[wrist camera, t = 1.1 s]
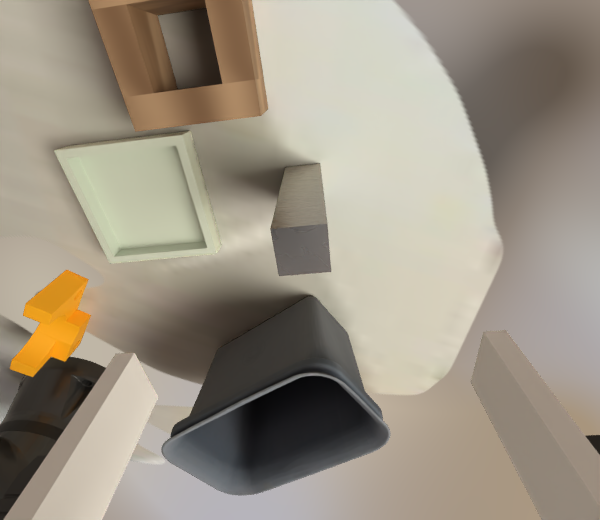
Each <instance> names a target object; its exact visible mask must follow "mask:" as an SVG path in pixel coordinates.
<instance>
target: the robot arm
mask: <svg viewBox="0 0 600 520" xmlns="http://www.w3.org/2000/svg"><path fill="white" fill-rule="evenodd" d="M471 384H472V386H473V388H474V389H475V391H476V393H477V395H478V397H479V399H480V401H481V403H482V405H483V407H484V409H485V411H486V413H487V415H488V416H489V419H490V421H491V422H492V424H493V426H494V428H495V430H496V432H497V434H498V436H499V438H500V440H501V442H502V443H503V446H504V448H505V449H506V452H507V453H508V455H509V457H510V459H511V461H512V463H513V465H514V467H515V469H516V471H517V473H518V475H519V477H520V479H521V481H522V482H523V484H524V486H525V488H526V490H527V492H528V494H529V496H530V498H531V500H532V502H533V504H534V506H535V507H536V510H537V512H538V514H539V515H540V517H541V519H542V520H600V435H591V436H585V435H584V434H583V432H582V431H581V430H580V428H579V427H578V426H577V424H576V423H575V422H574V420H573V419H572V418H571V416H570V415H569V414H568V412H567V411H566V410H565V408H564V407H563V406H562V404H561V403H560V402H559V400H558V399H557V398H556V396H555V395H554V394H553V393H552V391H551V390H550V389H549V387H548V386H547V384H546V383H545V382H544V381H543V379H542V378H541V376H540V375H539V374H538V372H537V371H536V370H535V369H534V367H533V366H532V365H531V363H530V362H529V361H528V359H527V358H526V357H525V355H524V354H523V353H522V351H521V350H520V349H519V347H518V346H517V345H516V343H515V342H514V341H513V339H512V338H511V337H510V335H509V334H508V333H507V331H506V330H502V331H486V332H483V335H482V339H481V344H480V348H479V351H478V355H477V359H476V363H475V367H474V371H473V375H472V379H471ZM157 399H158V396H157V394H156V392H155V390H154V388H153V386H152V384H151V383H150V381H149V379H148V377H147V375H146V373H145V371H144V370H143V368H142V366H141V364H140V362H139V360H138V358H137V356H136V354H135V353H121V354H116V355H115V356H114V357H113V359H112V361H111V362H110V363H109V365H108V366H107V368H105V367H103V366H100V365H98V364H96V363H93V362H91V361H87V360H84V359H79V358H74V357H69V358H68V359H67V360H66V361H65V362H64V361H62V360H59V359H56V358H54V357H52V358H49V360H48V361H47V362H46V363H45V364H44V365H43V366H42V367H41V368H40V370H39V371H38V372H37V373H36V374H35V375H34V376H33V377H31V376H28V375H25V377H24V378H23V379H22V381H21V383H20V386H19V389H18V393H17V395H16V397H15V398H14V400H13V402H12V404H11V406H10V408H9V410H8V412H7V414H6V416H5V418H4V420H3V422H2V423H1V424H0V520H102V519H103V516H104V514H105V512H106V510H107V508H108V506H109V504H110V501H111V499H112V497H113V495H114V493H115V491H116V488H117V486H118V484H119V482H120V480H121V477H122V475H123V473H124V471H125V469H126V467H127V464H128V462H129V460H130V458H131V456H132V454H133V451H134V449H135V447H136V445H137V443H138V440H139V438H140V436H141V434H142V432H143V430H144V427H145V425H146V423H147V421H148V419H149V417H150V414H151V412H152V410H153V408H154V406H155V403H156V401H157Z"/></svg>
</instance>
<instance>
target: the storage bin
mask: <svg viewBox="0 0 600 520" xmlns="http://www.w3.org/2000/svg"><path fill="white" fill-rule="evenodd" d="M389 438H390V429H389V427H388V425H387V424H386V423H385V422H384V421H383V417H382V411H381V409H380V408H379V406H378V405H377V404H376V403H375V402H374V401H373V400H372V399H371V398H370V397H369V395H367V393H366V392H365V390H364V387H363V383H362V380H361V377H360V373H359V370H358V366H357V363H356V360H355V356H354V353H353V350H352V346H351V343H350V340H349V336H348V333H347V332H346V331H345V330H344V328H343V327H342V326H341V325H340V324H339V323H338V322H337V321H336V320H335V319H334V317H333V316H332V315H331V314H330V313H329V312H328V311H327V310H326V308H325V307H324V306H323V305H322V304H321V303H320V301H319V300H318V299H317V298H315V297H312V296H310V297H306V298H304V299H303V300H301V301H299V302H298V303H296V304H294V305H293V306H291V307H289V308H287V309H286V310H284V311H282V312H281V313H279V314H277V315H276V316H274V317H272V318H270V319H269V320H267V321H265V322H264V323H262V324H260V325H258V326H257V327H255V328H253V329H252V330H250V331H248V332H247V333H245V334H243V335H242V336H240V337H238V338H236V339H235V340H233V341H231V342H230V343H228V344H226V345H224V346H222V347H221V348H219V349H218V350H217V352H216V355H215V357H214V359H213V362H212V364H211V367H210V369H209V371H208V374H207V376H206V379H205V381H204V383H203V386H202V389H201V390H200V393H199V395H198V397H197V400H196V402H195V404H194V406H193V409H192V411H191V413H190V416H189V417H187V418H185V419H183V420H181V421H179V422H178V423H177V424H175V425H174V427H173V429H172V432H171V438H170V439H168V440H167V441H166V442H165V443H164V444H163V446H162V454H163V456H164V457H165V458H166V459H167V460H168V461H169V462H170V463H172V464H174V465H175V466H177V467H179V468H181V469H182V470H184V471H186V472H187V473H189V474H191V475H192V476H194V477H196V478H198V479H200V480H201V481H203V482H205V483H207V484H208V485H210V486H212V487H213V488H215V489H217V490H219V491H221V492H224V493H227V494H232V495H252V494H258V493H261V492H264V491H267V490H270V489H273V488H276V487H278V486H281V485H284V484H287V483H290V482H292V481H295V480H298V479H301V478H304V477H306V476H309V475H312V474H315V473H317V472H320V471H323V470H325V469H328V468H331V467H334V466H336V465H339V464H342V463H345V462H347V461H350V460H352V459H355V458H359V457H361V456H364V455H366V454H369V453H372V452H374V451H376V450H378V449H380V448H381V447H383V446H384V445H385V444H386V443H387V442H388V440H389Z"/></svg>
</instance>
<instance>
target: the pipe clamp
mask: <svg viewBox="0 0 600 520" xmlns="http://www.w3.org/2000/svg"><path fill="white" fill-rule="evenodd" d="M88 280H89V279H87V278H85V277H82V276H80V275H78V274H76V273H73V272H71V271H69V270H66V271H64V272H63V273H62V274H61V275H60V276H58V277H57V278H56V279H55V280H54V281H52V282H51V283H50V284H49V285H48V286H46V287H45V288H44V289H43V290H41V291H40V292H39V293H38V294H37V295H35V296H34V297H33V298H32V299H31V300H29V301H28V302H27V303H26V305H25V309H24V313H23V316H25V317H28V318H31V319H33V320H35V321H38V322H40V324H39V325H38V327H37V329H36V331H35V332H34V334H33V335H32V337H31V338H30V339H29V341H28V342H27V343H26V345H25V346H24V347H23V348H22V349H21V351H20V352H19V353H18V354H17V355H16V356H15V357H14V358H13V359H12V362H11V366H10V369H11V370H14V371H17V372H19V373H22V374H25V375H28V376H31V377H33V376H34V375H35V374H36V373H37V372H38V371H39V370H40V368H41V367H42V366H43V365H44V364H45V363H46V362H47V361H48V360H49V358H50V357H54V358H56V359H59V360H62V361H64V362H65V361H66V360H67V359H68V358H69V356H70V355H71V354H72V353H73V352H74V350H75V349H76V348H77V347H78V346H79V344H80V343H81V340H82V338H83V335H84V333H85V329H86V327H87V324H88V322H89V319H90V316H91V315H89V314H87V313H84V312H82V311H80V310H77V309H78V306H79V303H80V300H81V298H82V295H83V292H84V289H85V288H86V285H87V283H88Z"/></svg>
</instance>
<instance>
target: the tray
mask: <svg viewBox="0 0 600 520" xmlns="http://www.w3.org/2000/svg"><path fill="white" fill-rule="evenodd" d="M54 152H55V154H56V156H57V158H58V160H59V162H60V164H61V166H62V168H63V170H64V172H65V175H66V177H67V179H68V181H69V183H70V185H71V187H72V189H73V191H74V193H75V195H76V197H77V199H78V201H79V203H80V205H81V207H82V209H83V211H84V213H85V215H86V217H87V219H88V221H89V223H90V225H91V227H92V229H93V231H94V233H95V235H96V237H97V239H98V241H99V243H100V245H101V247H102V249H103V251H104V253H105V255H106V257H107V259H108V261H109V263H110V264H113V263H124V262H135V261H146V260H157V259H168V258H179V257H190V256H201V255H212V254H217V253H218V251H219V249H220V247H221V245H222V244H221V240H220V236H219V233H218V229H217V225H216V222H215V218H214V215H213V211H212V207H211V204H210V200H209V196H208V193H207V189H206V186H205V182H204V178H203V175H202V171H201V167H200V164H199V160H198V156H197V153H196V149H195V146H194V142H193V138H192V135H191V131H184V132H176V133H168V134H160V135H152V136H144V137H136V138H128V139H119V140H111V141H103V142H95V143H87V144H79V145H71V146H67V147H64V148H61V149H58V150H54Z"/></svg>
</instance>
